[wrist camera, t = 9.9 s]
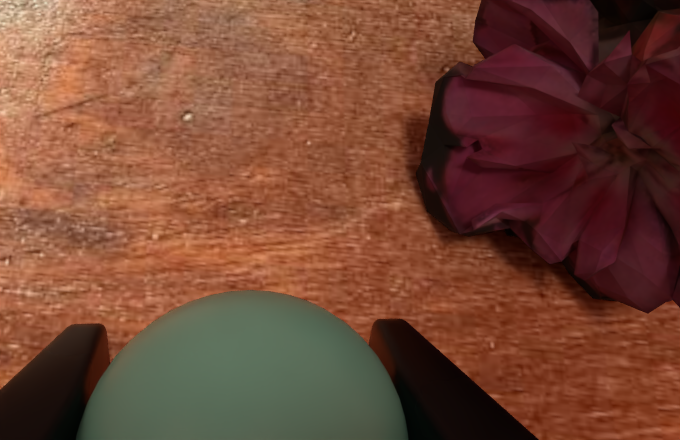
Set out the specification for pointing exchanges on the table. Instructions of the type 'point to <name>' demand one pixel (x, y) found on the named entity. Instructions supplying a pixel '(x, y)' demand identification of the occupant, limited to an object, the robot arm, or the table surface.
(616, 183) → the flower arrangement
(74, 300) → the table surface
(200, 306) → the lever
